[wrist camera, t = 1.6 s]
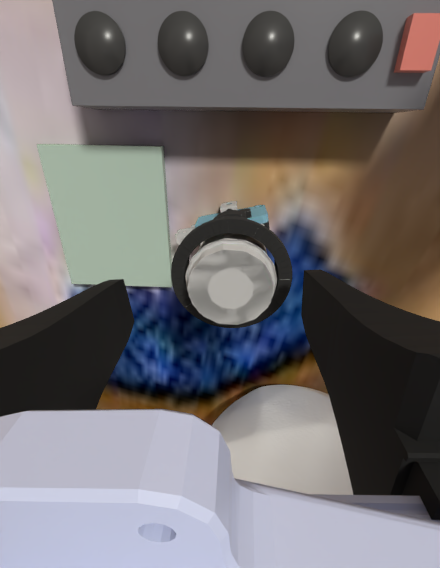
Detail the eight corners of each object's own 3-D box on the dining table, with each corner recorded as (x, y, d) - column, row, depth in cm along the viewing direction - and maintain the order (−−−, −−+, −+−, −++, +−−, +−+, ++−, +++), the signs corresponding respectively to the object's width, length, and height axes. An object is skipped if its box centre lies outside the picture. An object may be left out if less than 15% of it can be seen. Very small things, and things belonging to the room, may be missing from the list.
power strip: (423, -1, 15) (474, -36, 12) (394, 112, 17) (430, 108, 14) (79, 0, 16) (39, -33, 12) (96, 109, 18) (66, 104, 15)
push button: (188, 264, 23) (157, 351, 14) (169, 195, 20) (117, 245, 11) (274, 250, 22) (300, 333, 13) (265, 176, 19) (290, 214, 10)
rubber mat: (163, 146, 19) (161, 146, 18) (173, 283, 23) (171, 287, 23) (42, 144, 19) (36, 144, 18) (75, 280, 24) (71, 283, 23)
